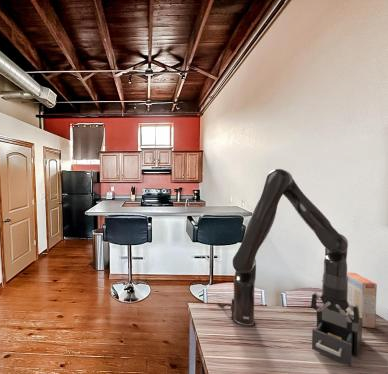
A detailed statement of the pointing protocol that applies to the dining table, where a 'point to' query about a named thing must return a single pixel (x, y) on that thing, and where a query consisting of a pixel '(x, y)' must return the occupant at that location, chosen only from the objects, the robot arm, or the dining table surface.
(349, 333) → the drawer
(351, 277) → the cracker box
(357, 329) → the dark grey box
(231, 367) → the dining table surface
